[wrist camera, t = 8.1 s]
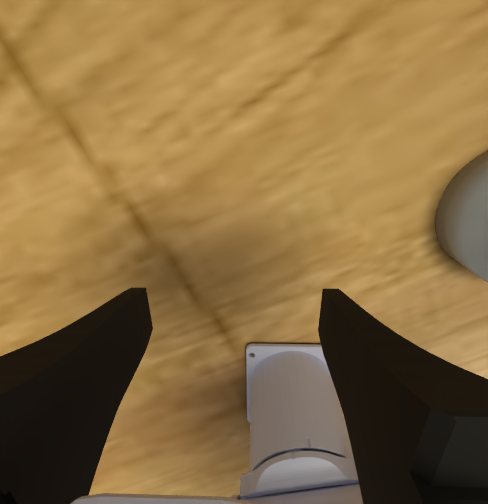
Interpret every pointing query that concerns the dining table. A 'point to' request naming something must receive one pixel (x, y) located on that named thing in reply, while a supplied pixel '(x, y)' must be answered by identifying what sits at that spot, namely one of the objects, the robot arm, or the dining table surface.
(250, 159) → the dining table surface
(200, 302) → the dining table surface
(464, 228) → the grey disc
